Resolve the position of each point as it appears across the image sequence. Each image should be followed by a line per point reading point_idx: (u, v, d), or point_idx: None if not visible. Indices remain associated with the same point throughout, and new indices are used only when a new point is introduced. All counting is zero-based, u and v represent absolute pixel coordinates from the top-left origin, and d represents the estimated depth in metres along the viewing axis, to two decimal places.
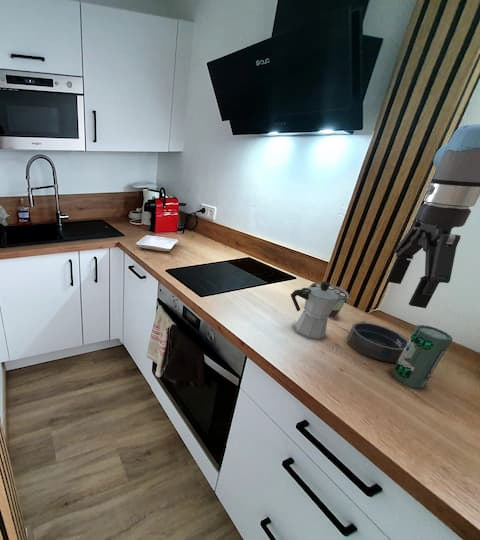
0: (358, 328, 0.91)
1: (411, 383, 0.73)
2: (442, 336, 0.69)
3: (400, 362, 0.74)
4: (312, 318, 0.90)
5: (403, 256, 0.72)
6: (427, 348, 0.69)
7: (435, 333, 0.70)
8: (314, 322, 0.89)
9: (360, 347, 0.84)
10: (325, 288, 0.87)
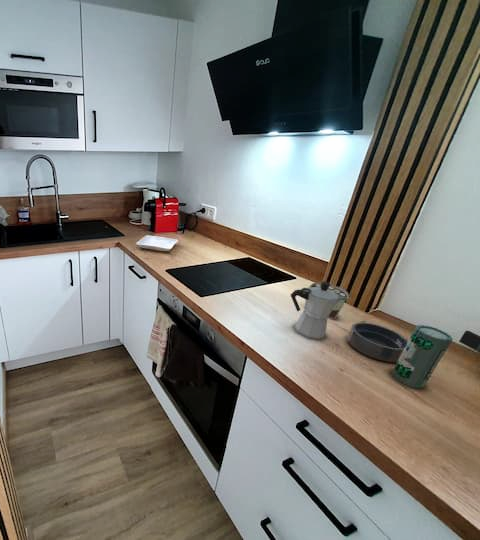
0: (358, 328, 0.91)
1: (411, 383, 0.73)
2: (442, 336, 0.69)
3: (400, 362, 0.74)
4: (312, 318, 0.90)
5: None
6: (427, 348, 0.69)
7: (435, 333, 0.70)
8: (314, 322, 0.89)
9: (360, 347, 0.84)
10: (325, 288, 0.87)
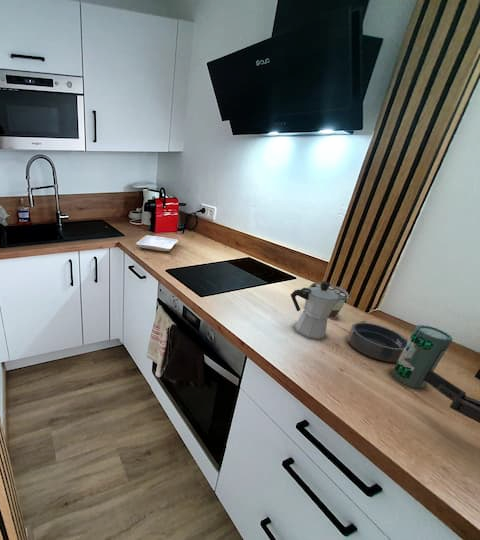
0: (358, 328, 0.91)
1: (411, 383, 0.73)
2: (442, 336, 0.69)
3: (400, 362, 0.74)
4: (312, 318, 0.90)
5: None
6: (427, 348, 0.69)
7: (435, 333, 0.70)
8: (314, 322, 0.89)
9: (360, 347, 0.84)
10: (325, 288, 0.87)
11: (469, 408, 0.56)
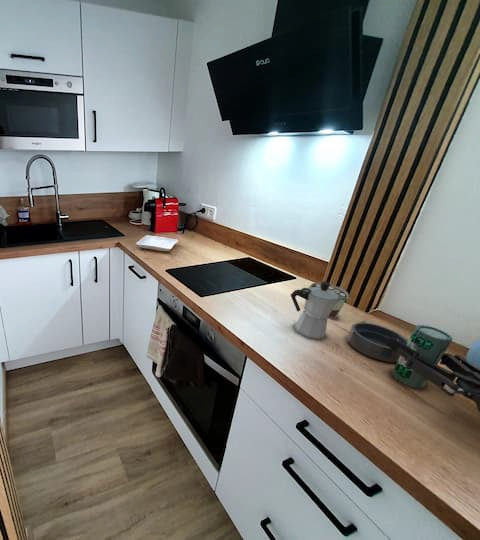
0: (358, 328, 0.91)
1: (411, 383, 0.73)
2: (442, 336, 0.69)
3: (400, 362, 0.74)
4: (312, 318, 0.90)
5: None
6: (427, 348, 0.69)
7: (435, 333, 0.70)
8: (314, 322, 0.89)
9: (360, 347, 0.84)
10: (325, 288, 0.87)
11: (417, 365, 0.67)
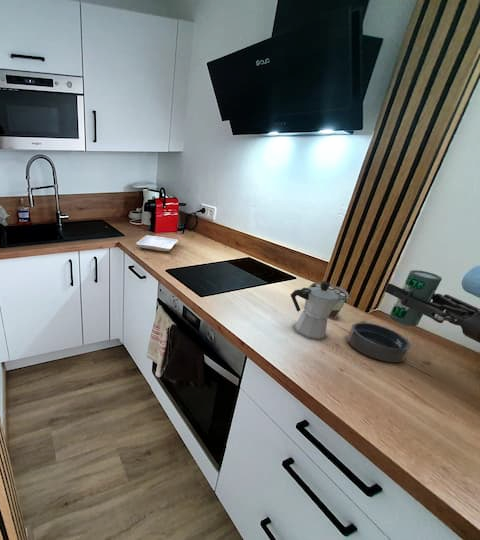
0: (358, 328, 0.91)
1: (406, 322, 0.82)
2: (433, 277, 0.78)
3: (396, 304, 0.84)
4: (312, 318, 0.90)
5: None
6: (420, 288, 0.78)
7: (427, 275, 0.79)
8: (314, 322, 0.89)
9: (360, 347, 0.84)
10: (325, 288, 0.87)
11: (411, 301, 0.77)
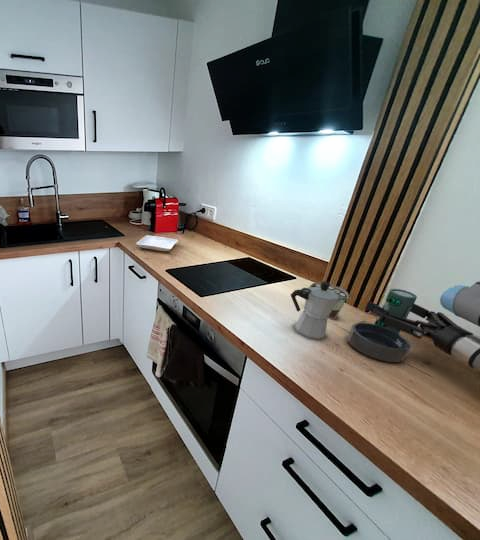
0: (358, 328, 0.91)
1: None
2: (409, 296, 0.88)
3: (378, 319, 0.94)
4: (312, 318, 0.90)
5: None
6: (398, 305, 0.88)
7: (404, 294, 0.89)
8: (314, 322, 0.89)
9: (360, 347, 0.84)
10: (325, 288, 0.87)
11: (389, 319, 0.84)
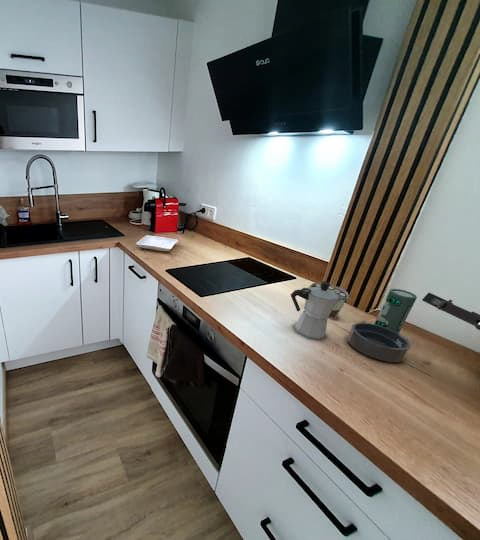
0: (358, 328, 0.91)
1: None
2: (409, 296, 0.88)
3: (378, 319, 0.94)
4: (312, 318, 0.90)
5: None
6: (398, 305, 0.88)
7: (404, 294, 0.89)
8: (314, 322, 0.89)
9: (360, 347, 0.84)
10: (325, 288, 0.87)
11: (451, 306, 0.72)
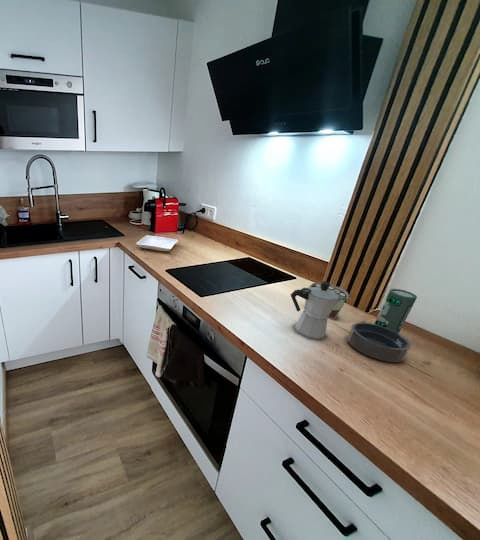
0: (358, 328, 0.91)
1: None
2: (409, 296, 0.88)
3: (378, 319, 0.94)
4: (312, 318, 0.90)
5: None
6: (398, 305, 0.88)
7: (404, 294, 0.89)
8: (314, 322, 0.89)
9: (360, 347, 0.84)
10: (325, 288, 0.87)
11: None
